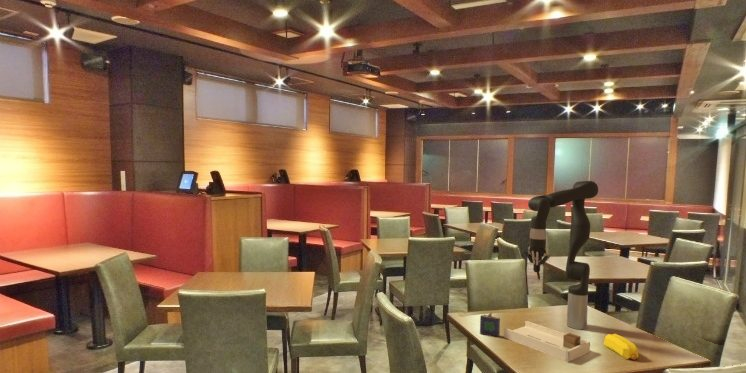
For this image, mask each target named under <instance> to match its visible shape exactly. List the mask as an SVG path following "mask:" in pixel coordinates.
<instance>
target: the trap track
mask: <svg viewBox="0 0 746 373" xmlns="http://www.w3.org/2000/svg"><path fill="white" fill-rule="evenodd" d="M524 323H525V324H524V326H521V327H517V328H514V329H513V330H512V329H510V328H508V327H504V328H503V338H505V339H507V340H510V341H512V342H514V343H517V344H520V345H522V346H525V347H528V348H530V349H532V350H536V351H538V352H541V353H543V354H545V355H548V356H551V357H553V358H556V359H559V360H561V361H564V362H566V363H569V362H572V361H573V360H576V359H578V358H580V357H581V356H584V355H586V354H588V353H590V350H591V341H588V340H585V339H582V338H580V345H578V346H576V347H574V348H571V349H569V348H566V347H564V346H563V339H564V335H566V334H567V333H565V332H562V331H558V330H555V329H552V328H549V327H546V326H544V325H541V324H538V323H534V322H532V321H528V320H525V322H524Z"/></svg>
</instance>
